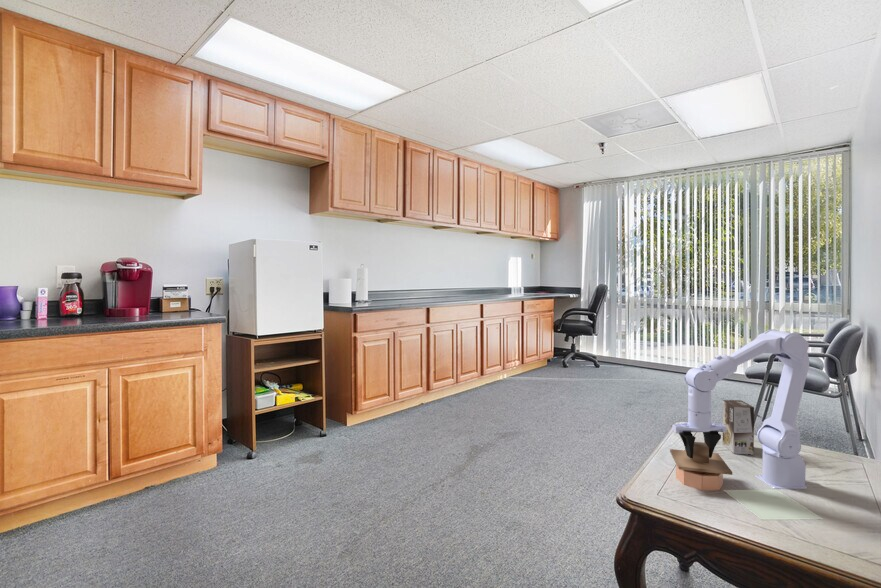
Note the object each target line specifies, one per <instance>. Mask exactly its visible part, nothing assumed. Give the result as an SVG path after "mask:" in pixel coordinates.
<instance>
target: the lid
mask: <svg viewBox="0 0 881 588" xmlns="http://www.w3.org/2000/svg"><path fill="white" fill-rule="evenodd" d="M669 452H670V455H671V457H672V458H673V460H674V462H675V466H676V465H677V467H678V469H680V470H690V471H700V472H709V473H719V474H723V475H731V476H732V475H733V471H732V470H731V468H730V466H729V465H727V463H726V462H725V460H723V458H722V456H721V455H720V454H719V453H715V452H713V454H712V457H711V458H709V447H708V446H707V444H706V443H705V442H703V441H702V442H701V441H695V442H694V448H693V458H690V457H688V456H687V454H686V449H684V450H683V449H673V448H669Z"/></svg>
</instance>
